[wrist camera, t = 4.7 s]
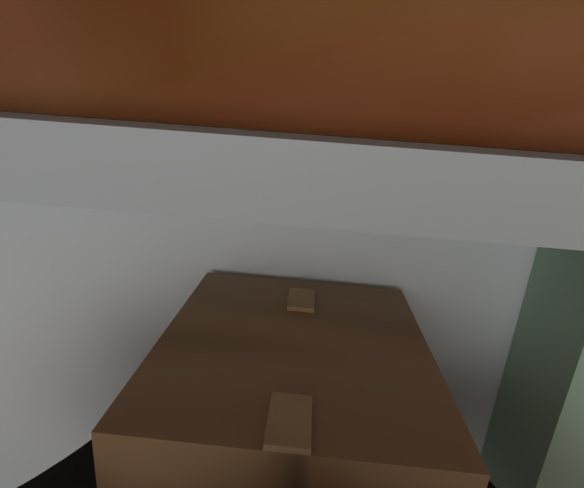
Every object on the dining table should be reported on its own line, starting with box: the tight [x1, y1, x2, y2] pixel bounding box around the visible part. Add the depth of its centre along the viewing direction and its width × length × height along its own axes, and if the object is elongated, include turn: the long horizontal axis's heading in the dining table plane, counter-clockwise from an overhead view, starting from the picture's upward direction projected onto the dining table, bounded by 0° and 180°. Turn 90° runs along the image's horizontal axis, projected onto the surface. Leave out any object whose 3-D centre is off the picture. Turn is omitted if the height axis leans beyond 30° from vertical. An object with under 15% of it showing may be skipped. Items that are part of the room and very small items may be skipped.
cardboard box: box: [91, 272, 490, 488], centre depth 9 cm, size 7×5×6 cm
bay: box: [0, 111, 584, 488], centre depth 11 cm, size 14×25×3 cm, turn 86°
